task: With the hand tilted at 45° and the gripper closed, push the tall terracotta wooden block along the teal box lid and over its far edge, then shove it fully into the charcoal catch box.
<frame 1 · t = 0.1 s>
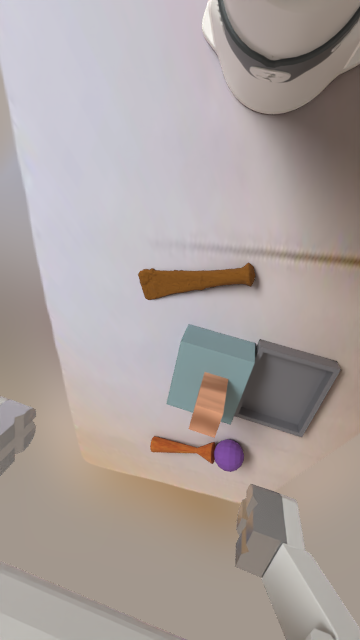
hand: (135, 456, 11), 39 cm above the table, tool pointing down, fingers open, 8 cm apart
terracotta block: (212, 386, 50), point 6 cm above the table, touching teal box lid
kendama: (198, 440, 65), on the table
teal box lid: (211, 364, 55), on the table
primitive tool: (193, 280, 49), on the table
catch box: (281, 385, 53), on the table
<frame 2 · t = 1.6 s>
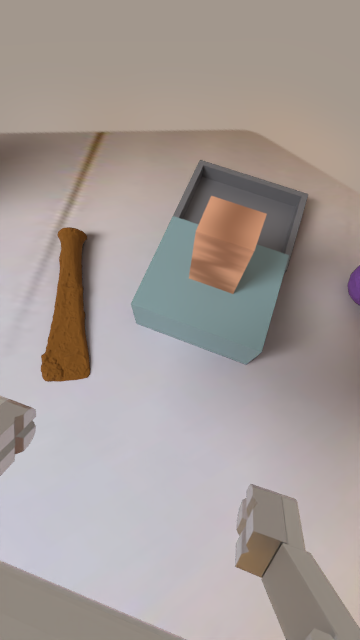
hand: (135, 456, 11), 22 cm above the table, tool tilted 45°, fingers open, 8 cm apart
terracotta block: (216, 270, 32), point 6 cm above the table, touching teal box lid
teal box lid: (206, 301, 37), on the table
primitive tool: (75, 307, 37), on the table
catch box: (236, 223, 42), on the table
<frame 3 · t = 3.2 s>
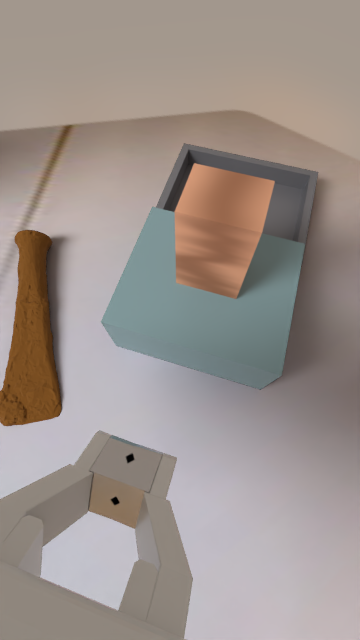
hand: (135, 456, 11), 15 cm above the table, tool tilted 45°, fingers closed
terracotta block: (212, 270, 24), point 6 cm above the table, touching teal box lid
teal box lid: (203, 310, 30), on the table
primitive tool: (41, 326, 30), on the table
catch box: (233, 214, 34), on the table
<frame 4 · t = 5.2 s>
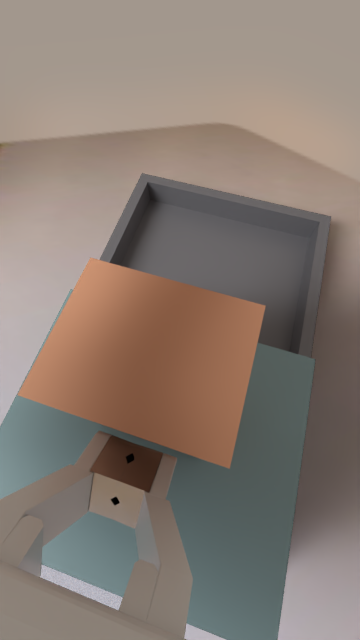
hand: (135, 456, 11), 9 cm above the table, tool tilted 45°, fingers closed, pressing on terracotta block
terracotta block: (164, 399, 15), point 6 cm above the table, touching gripper, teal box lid
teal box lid: (159, 436, 20), on the table
catch box: (209, 274, 24), on the table
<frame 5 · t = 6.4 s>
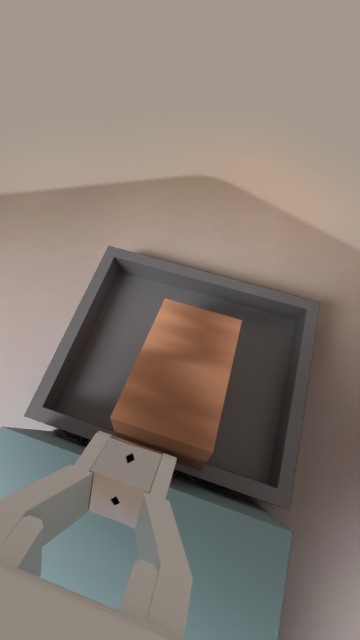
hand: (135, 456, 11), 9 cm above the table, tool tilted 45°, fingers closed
terracotta block: (159, 446, 15), point 5 cm above the table, tilted 105°, touching catch box
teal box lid: (114, 579, 17), on the table
catch box: (182, 364, 21), on the table
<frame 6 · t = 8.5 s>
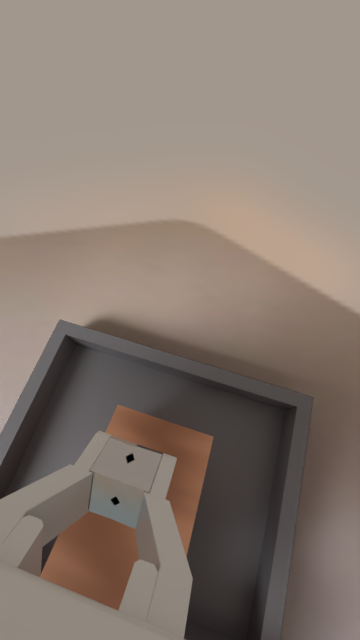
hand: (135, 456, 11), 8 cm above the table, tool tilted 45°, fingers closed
terracotta block: (96, 634, 11), point 5 cm above the table, tilted 105°, touching catch box
catch box: (147, 467, 18), on the table
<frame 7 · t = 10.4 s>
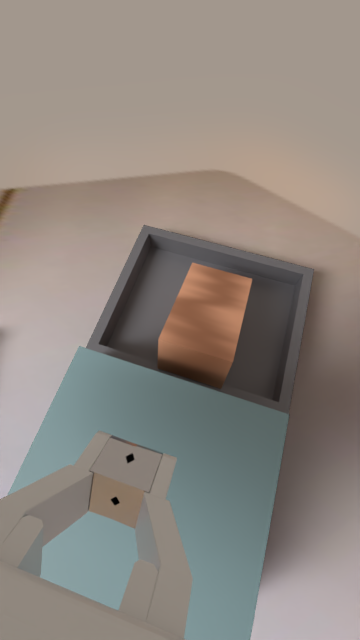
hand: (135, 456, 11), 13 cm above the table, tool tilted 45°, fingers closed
terracotta block: (191, 365, 20), point 5 cm above the table, tilted 105°, touching catch box
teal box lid: (154, 471, 22), on the table
catch box: (203, 319, 27), on the table
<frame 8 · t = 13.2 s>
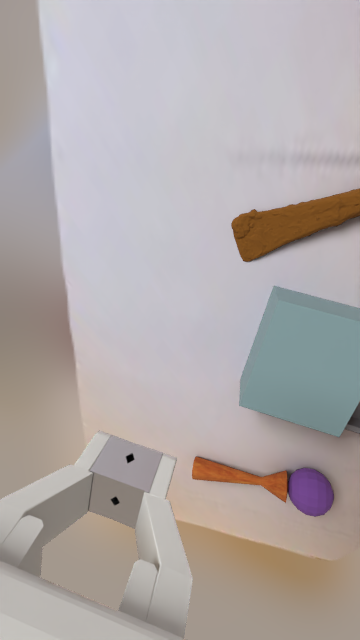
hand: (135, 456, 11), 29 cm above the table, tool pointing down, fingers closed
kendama: (258, 466, 47), on the table
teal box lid: (301, 349, 38), on the table
primitive tool: (317, 217, 33), on the table
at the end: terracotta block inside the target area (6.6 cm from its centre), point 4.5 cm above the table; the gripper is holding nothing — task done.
